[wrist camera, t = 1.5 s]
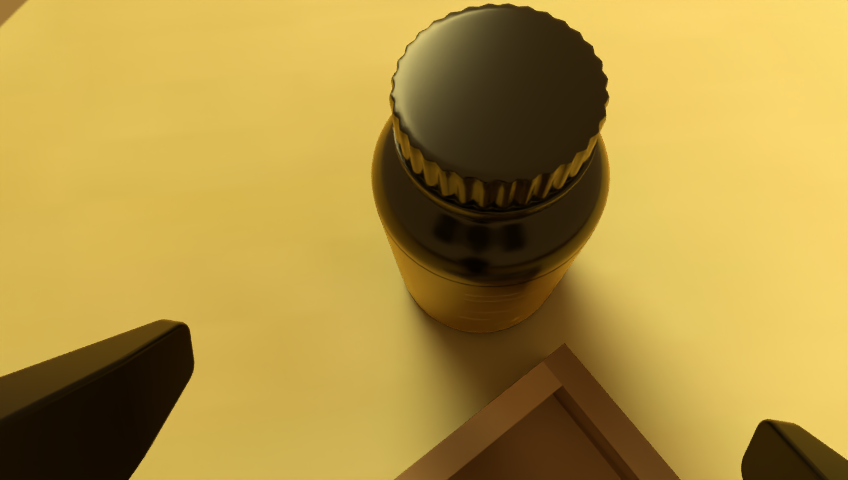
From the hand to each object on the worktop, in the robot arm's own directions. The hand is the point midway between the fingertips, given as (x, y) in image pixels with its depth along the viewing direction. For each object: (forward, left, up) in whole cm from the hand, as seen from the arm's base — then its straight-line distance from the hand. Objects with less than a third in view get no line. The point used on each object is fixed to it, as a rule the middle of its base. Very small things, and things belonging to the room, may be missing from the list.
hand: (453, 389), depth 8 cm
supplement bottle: (+5, +5, -13) cm, 14 cm away
